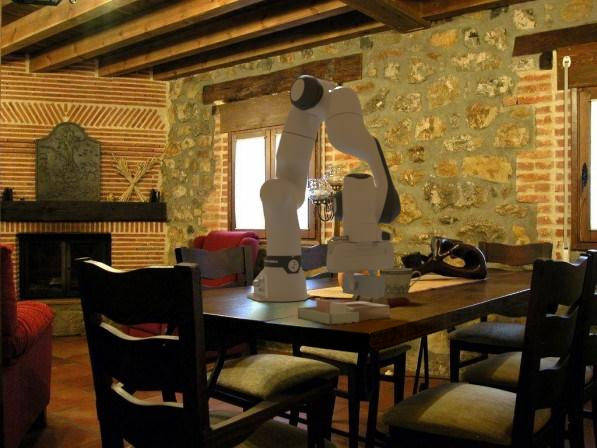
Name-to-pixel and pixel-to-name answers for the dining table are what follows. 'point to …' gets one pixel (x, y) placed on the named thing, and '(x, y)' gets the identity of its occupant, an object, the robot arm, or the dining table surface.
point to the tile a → (323, 306)
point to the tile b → (337, 308)
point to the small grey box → (365, 285)
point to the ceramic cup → (397, 281)
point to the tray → (327, 316)
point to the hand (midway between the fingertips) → (361, 288)
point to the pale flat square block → (368, 310)
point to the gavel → (383, 300)
